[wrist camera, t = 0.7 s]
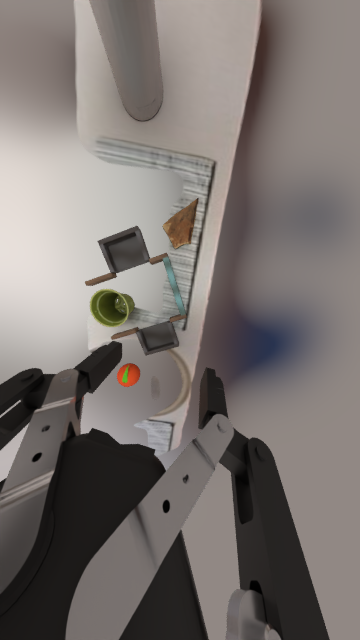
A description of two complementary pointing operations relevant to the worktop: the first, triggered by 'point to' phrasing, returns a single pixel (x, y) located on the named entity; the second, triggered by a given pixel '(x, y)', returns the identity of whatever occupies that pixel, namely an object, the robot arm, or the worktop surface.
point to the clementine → (128, 375)
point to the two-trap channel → (130, 253)
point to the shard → (181, 225)
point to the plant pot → (111, 307)
